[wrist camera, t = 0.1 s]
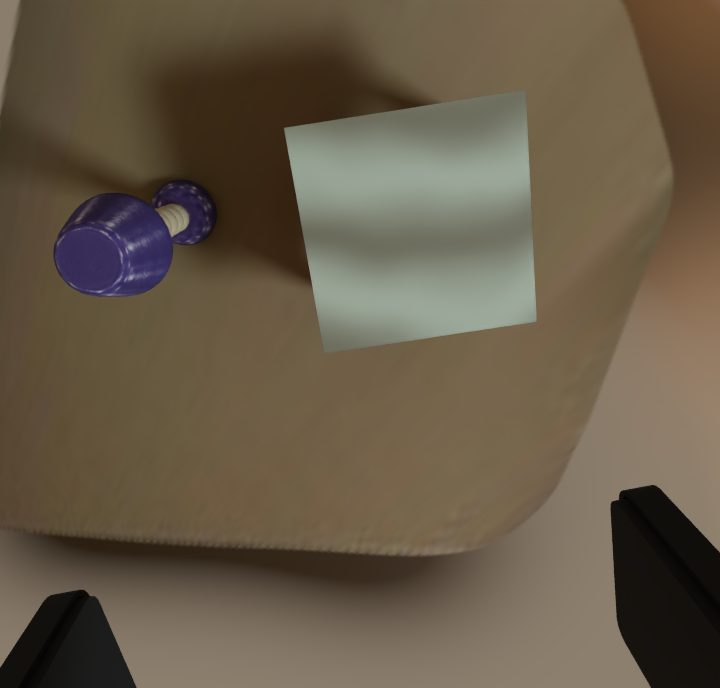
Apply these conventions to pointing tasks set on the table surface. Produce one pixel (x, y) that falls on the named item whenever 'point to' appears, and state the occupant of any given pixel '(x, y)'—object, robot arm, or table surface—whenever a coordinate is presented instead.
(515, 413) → the table surface
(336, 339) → the footstool
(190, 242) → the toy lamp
